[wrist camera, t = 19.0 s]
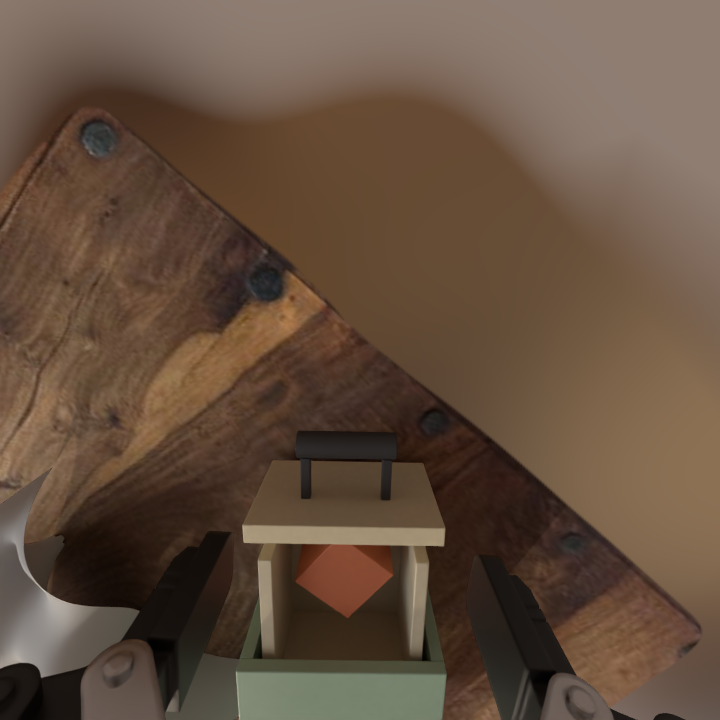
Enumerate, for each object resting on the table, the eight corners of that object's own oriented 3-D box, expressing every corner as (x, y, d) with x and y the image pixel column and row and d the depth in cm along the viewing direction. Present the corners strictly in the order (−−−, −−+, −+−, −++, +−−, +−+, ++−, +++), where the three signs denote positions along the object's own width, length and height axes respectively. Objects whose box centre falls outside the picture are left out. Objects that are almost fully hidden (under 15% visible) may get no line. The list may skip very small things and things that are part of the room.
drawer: (270, 404, 26) (237, 452, 19) (427, 407, 26) (452, 456, 19) (277, 606, 30) (252, 707, 23) (413, 608, 30) (429, 709, 23)
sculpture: (-85, 588, 31) (-281, 728, 21) (61, 459, 28) (-89, 552, 19) (135, 751, 35) (53, 926, 26) (278, 653, 33) (246, 808, 23)
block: (342, 493, 27) (339, 535, 22) (388, 527, 27) (393, 575, 23) (304, 532, 27) (294, 581, 23) (349, 565, 28) (347, 618, 24)
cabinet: (271, 555, 30) (235, 671, 21) (421, 558, 30) (447, 674, 22) (276, 689, 34) (247, 837, 25) (411, 690, 34) (430, 838, 25)
